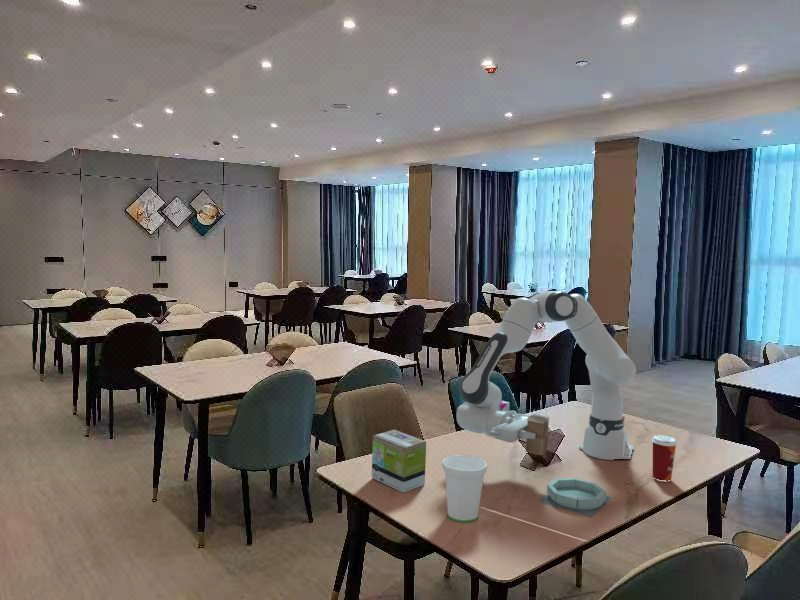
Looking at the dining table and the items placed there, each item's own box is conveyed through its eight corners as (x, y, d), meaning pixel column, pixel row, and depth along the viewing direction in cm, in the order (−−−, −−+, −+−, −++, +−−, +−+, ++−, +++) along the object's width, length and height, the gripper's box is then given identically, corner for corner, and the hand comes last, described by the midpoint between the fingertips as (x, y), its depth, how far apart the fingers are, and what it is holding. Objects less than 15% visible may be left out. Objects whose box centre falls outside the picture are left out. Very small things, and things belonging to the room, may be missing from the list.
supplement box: (498, 425, 253) (499, 399, 252) (509, 429, 249) (510, 402, 248) (489, 428, 249) (490, 401, 248) (500, 431, 245) (501, 404, 244)
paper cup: (677, 484, 194) (680, 443, 192) (651, 482, 195) (654, 440, 194) (671, 476, 201) (674, 435, 200) (647, 473, 203) (649, 433, 202)
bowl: (560, 484, 190) (561, 474, 190) (610, 498, 181) (611, 487, 180) (540, 500, 177) (540, 489, 177) (592, 516, 168) (593, 504, 168)
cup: (493, 515, 167) (495, 462, 166) (467, 530, 158) (470, 474, 157) (457, 502, 176) (459, 451, 174) (431, 515, 166) (433, 462, 165)
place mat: (561, 484, 191) (561, 483, 191) (611, 498, 182) (612, 497, 181) (538, 502, 177) (538, 501, 177) (591, 518, 167) (591, 517, 167)
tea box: (370, 479, 191) (371, 434, 190) (392, 471, 198) (394, 428, 197) (403, 494, 180) (404, 446, 179) (425, 485, 187) (427, 439, 186)
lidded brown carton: (532, 447, 194) (534, 413, 193) (547, 451, 191) (549, 417, 190) (525, 451, 190) (527, 417, 189) (540, 455, 187) (542, 420, 186)
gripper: (486, 422, 189) (526, 431, 181) (514, 409, 205) (553, 417, 197) (485, 441, 189) (525, 451, 181) (514, 427, 206) (552, 435, 198)
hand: (540, 433), depth 189 cm, fingers closed on lidded brown carton, 5 cm apart
